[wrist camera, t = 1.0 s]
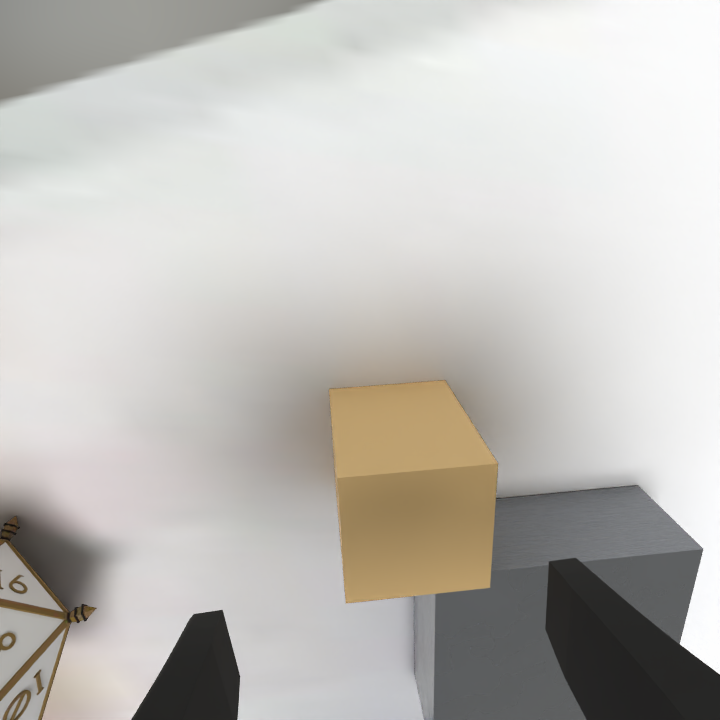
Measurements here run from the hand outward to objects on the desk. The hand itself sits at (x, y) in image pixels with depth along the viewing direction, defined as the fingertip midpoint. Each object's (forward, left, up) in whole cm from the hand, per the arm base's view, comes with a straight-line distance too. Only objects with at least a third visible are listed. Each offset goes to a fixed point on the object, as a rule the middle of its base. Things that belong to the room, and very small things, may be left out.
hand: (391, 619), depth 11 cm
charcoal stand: (-9, -7, -10) cm, 15 cm away
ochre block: (-1, -1, -10) cm, 10 cm away
